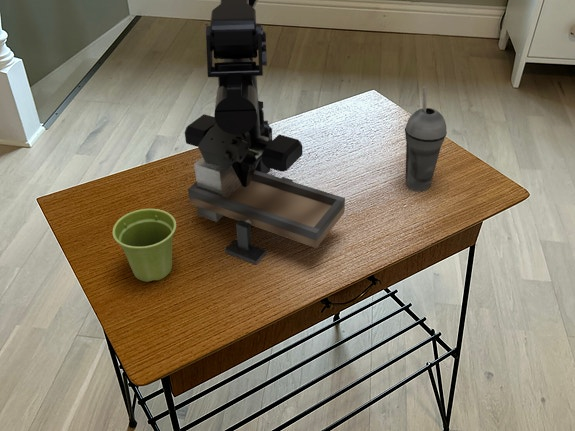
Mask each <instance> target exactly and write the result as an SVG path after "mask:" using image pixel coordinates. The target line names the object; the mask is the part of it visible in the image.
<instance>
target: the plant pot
mask: <svg viewBox="0 0 575 431" xmlns="http://www.w3.org/2000/svg"><path fill="white" fill-rule="evenodd" d="M176 230H177V222H176V219H175V217H174V216H173V215H172V214H171V213H169V212H168V211H165V210H162V209H159V208H158V209H157V208H142V209H136V210H134V211H130V212H129V213H126V214H124V215H123V216H121V217H120V218H119V219H118V220H117V221H116V222H115V224H114V225H113V228H112V236H113V239H114V241H115V242H116V243H117V244H118V245H119V246H120V247H121V249H123V253H124V255H125V257H126V259H127V261H128V265H129V267H130V268H131V271H132V273H133V275H134V278H137V279H138V281H142V282H144V283H145V282H147V283H149V282H152V281H161V280H163V279H164V278H167V276H168V275H169V274H170V273H171V271H172V268H173V240H174V239H173V238H174V236H175V235H174V234H175V232H176Z"/></svg>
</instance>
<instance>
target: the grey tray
mask: <svg viewBox="0 0 575 431" xmlns="http://www.w3.org/2000/svg"><path fill="white" fill-rule="evenodd" d="M187 194H188V200H189V205H192V206H196V212H197V216H199V217H202V218H205V219H208V220H210V221H214V222H216V223H218V222H219V221H220V220H221V219H222V218H223V217H227V218H229V219H232V220H235V221H237V222H239V221H240V220H241V221H244V222H247V223H250V224H251V227H252V226H253V227H255V228H259V229H261V230H264V231H266V232H269V233H271V234H272V233H273V234H276V235H278V236H281V237H283V238H287V239H289V240H292V241H295V242H297V243H299V244H300V243H301V244H303V245H306V246H309V247H312V248H314V249H317V248H318V247H319V245H320V244H321V243H322V241H324V239H325V238H326V237H327V235H328V234H329V233H330V231H331V230H332V229H333V228H334V227H335V226H336V224H337V223H338V221H339V220H340V219H341V217H343V215H344V214H345V208H346V206H345V205H346V197H343V196H339V195H337V194H333V193H330V192H327V191H323V190H320V189H317V188H315V187H311V186H307V185H304V184H300V183H297V182H295V181H293V182H292V181H288V180H285V179H282V177H279V176H275V175H272V174H269V173H263V172H259V171H256V170H255V171H254V174H253V176H252V179H251V181H250V184H249V185H248V186H247V187H243V186H242V185H241V186H240V187H239V188H238V189H236V190H235V191H234V192H233V193H232V194H231V195H230V196H229V197H228V198H225V197H222V196H219V195H216V194H213V193H210V192H208V191H205V190H202V189H199V188H197V181H195V182H194V183H193V184H192V185H191V186H190V187H189V188H187Z"/></svg>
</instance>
